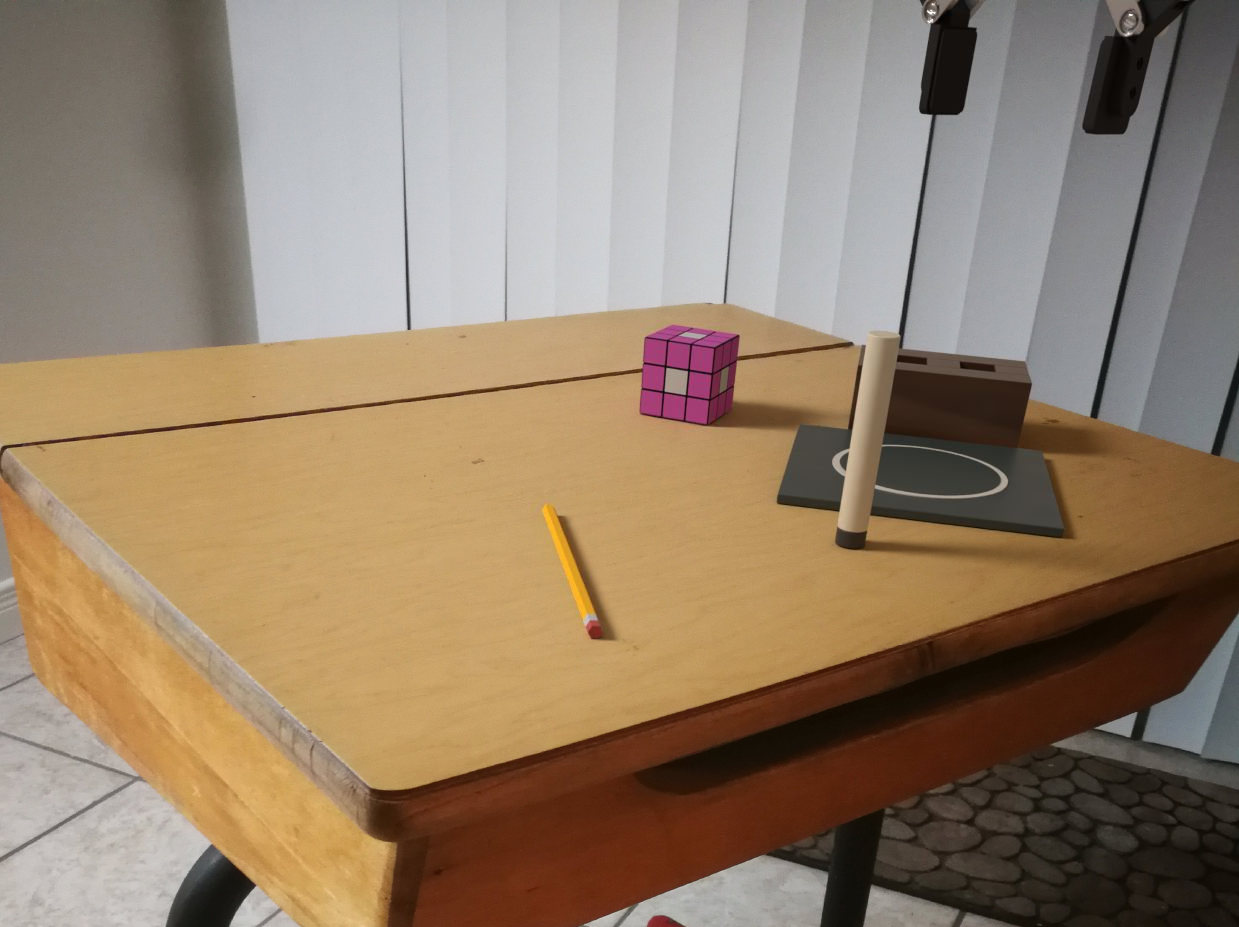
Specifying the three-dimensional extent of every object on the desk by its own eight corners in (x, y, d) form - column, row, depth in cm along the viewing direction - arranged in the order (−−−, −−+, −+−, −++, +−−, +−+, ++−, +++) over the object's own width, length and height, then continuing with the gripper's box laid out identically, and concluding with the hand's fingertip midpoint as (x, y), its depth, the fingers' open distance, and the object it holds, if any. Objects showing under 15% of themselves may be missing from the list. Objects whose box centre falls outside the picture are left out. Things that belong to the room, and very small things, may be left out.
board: (1040, 458, 95) (1042, 448, 95) (1062, 537, 80) (1065, 526, 80) (798, 431, 98) (799, 421, 97) (776, 503, 83) (777, 492, 82)
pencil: (587, 638, 63) (587, 625, 63) (541, 514, 78) (542, 503, 78) (603, 638, 64) (603, 625, 63) (554, 515, 79) (555, 504, 78)
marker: (865, 540, 78) (901, 332, 71) (864, 550, 76) (900, 338, 70) (835, 537, 78) (868, 328, 72) (833, 546, 77) (867, 335, 70)
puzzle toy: (665, 398, 104) (671, 323, 101) (732, 409, 102) (740, 334, 99) (638, 413, 99) (644, 336, 96) (707, 425, 98) (715, 347, 94)
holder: (851, 408, 105) (861, 344, 102) (1010, 425, 103) (1025, 361, 100) (847, 432, 98) (857, 364, 96) (1016, 451, 96) (1032, 383, 94)
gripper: (1344, -327, 53) (1213, 141, 62) (991, -288, 64) (924, 108, 73) (1263, -368, 49) (1135, 142, 58) (898, -319, 59) (840, 107, 69)
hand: (1018, 123), depth 65 cm, fingers open, 9 cm apart
